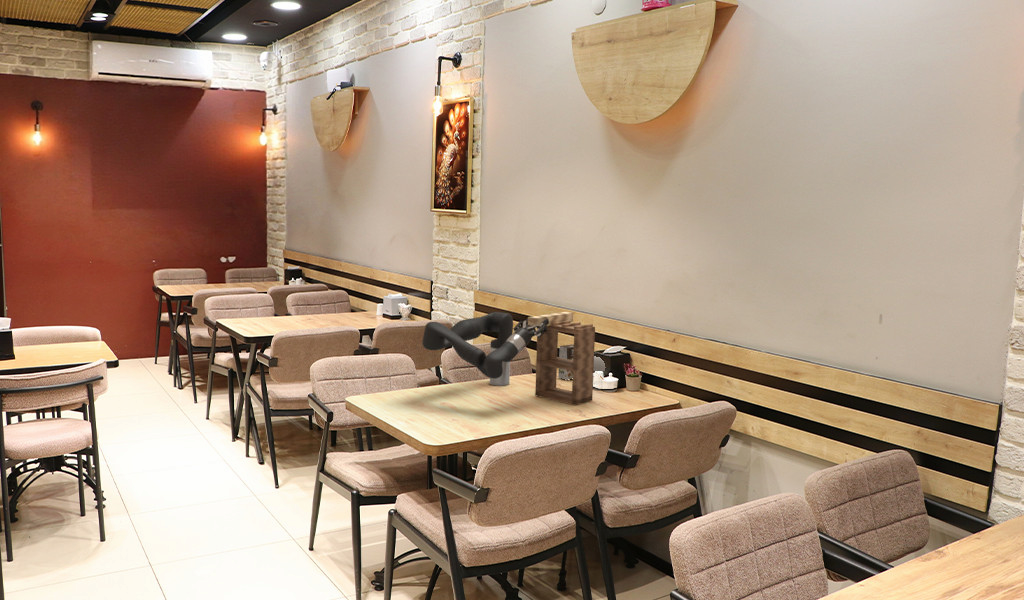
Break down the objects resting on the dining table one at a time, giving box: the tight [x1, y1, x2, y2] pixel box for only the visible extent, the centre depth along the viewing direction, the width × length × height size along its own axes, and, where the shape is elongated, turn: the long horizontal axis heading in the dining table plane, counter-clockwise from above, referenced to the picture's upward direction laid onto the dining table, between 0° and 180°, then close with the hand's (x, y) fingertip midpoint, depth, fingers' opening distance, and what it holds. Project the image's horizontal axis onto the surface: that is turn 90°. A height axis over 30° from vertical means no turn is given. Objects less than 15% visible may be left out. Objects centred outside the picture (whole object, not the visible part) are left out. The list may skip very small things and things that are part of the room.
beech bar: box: [527, 311, 574, 326], centre depth 341 cm, size 26×4×4 cm, turn 138°
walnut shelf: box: [534, 321, 596, 406], centre depth 342 cm, size 12×22×33 cm, turn 48°
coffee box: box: [557, 343, 574, 381], centre depth 380 cm, size 9×6×16 cm
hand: (540, 318), depth 336 cm, fingers open, 8 cm apart
